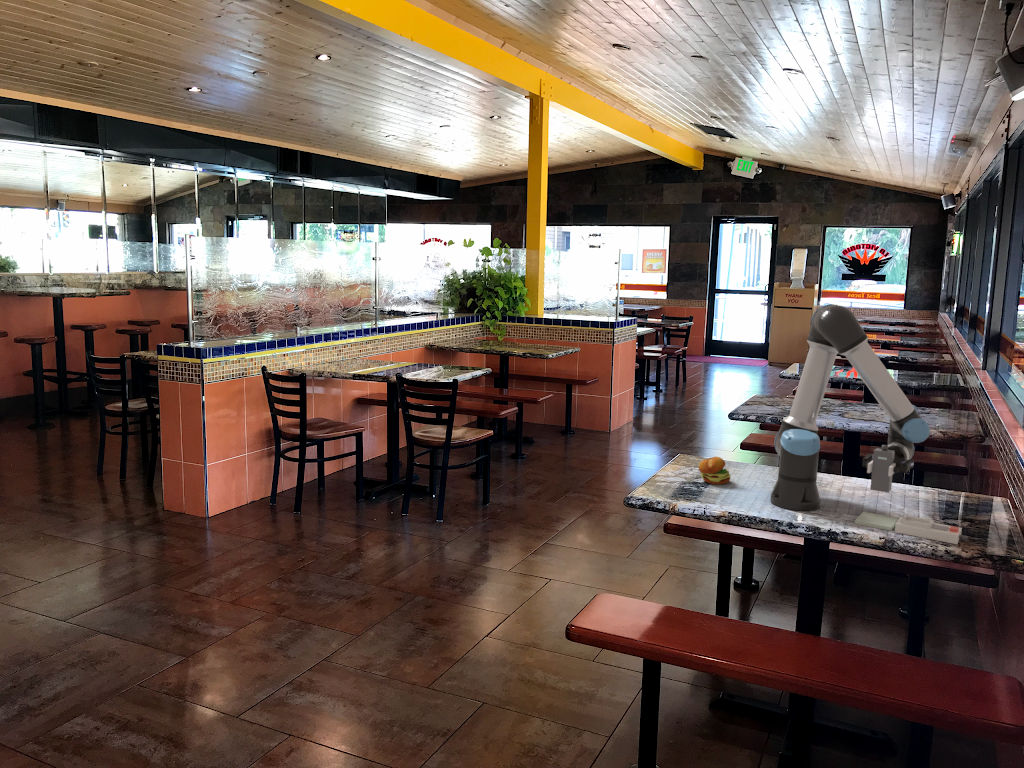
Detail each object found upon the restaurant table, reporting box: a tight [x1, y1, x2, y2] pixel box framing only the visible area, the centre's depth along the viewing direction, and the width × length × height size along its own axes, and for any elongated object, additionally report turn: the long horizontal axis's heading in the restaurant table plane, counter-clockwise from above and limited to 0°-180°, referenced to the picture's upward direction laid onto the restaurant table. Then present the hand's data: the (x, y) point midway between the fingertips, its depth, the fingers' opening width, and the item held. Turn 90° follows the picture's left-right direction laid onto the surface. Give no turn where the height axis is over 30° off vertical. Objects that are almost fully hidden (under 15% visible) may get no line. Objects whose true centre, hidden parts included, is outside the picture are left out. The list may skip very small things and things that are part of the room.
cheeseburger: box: [698, 456, 731, 485], centre depth 279 cm, size 10×11×10 cm
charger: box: [870, 444, 895, 493], centre depth 235 cm, size 5×4×14 cm
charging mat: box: [854, 511, 900, 531], centre depth 237 cm, size 10×12×1 cm
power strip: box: [894, 514, 969, 545], centre depth 227 cm, size 18×9×4 cm, turn 55°
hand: (879, 470), depth 231 cm, fingers closed on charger, 5 cm apart
